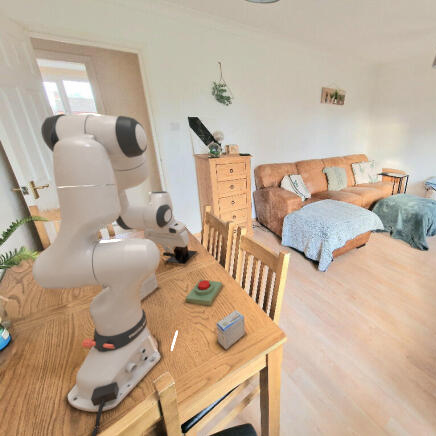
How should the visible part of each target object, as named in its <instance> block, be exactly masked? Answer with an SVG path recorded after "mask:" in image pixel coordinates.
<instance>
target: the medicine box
mask: <svg viewBox="0 0 436 436" xmlns="http://www.w3.org/2000/svg"><path fill="white" fill-rule="evenodd" d="M245 329H246V327H245V316H244V315H243V314H242V313H241V312H239V311H238V310H237V309H235V310H233V311H232V312H231V313H229V314H228V315H226V316H225V317H223V318H221V320H219V321H217V322H216V332H217V342H218V343H219V344H220V345H221V346H222V347H223V349H225V350H228V349H229V348H230V347H231V346H233V344H235V343H236V342H237V341H239V340H240V339H241V338H242V337H244V336H245V335H246V330H245Z"/></svg>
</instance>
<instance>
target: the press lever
mask: <svg viewBox="0 0 436 436" xmlns="http://www.w3.org/2000/svg"><path fill="white" fill-rule="evenodd" d="M175 247H176V246H174V247H173V252H172V253H165V251H164V252H163V253H162V256H164V257H169V258H170V257H175V256H176V254H174V249H175Z"/></svg>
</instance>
